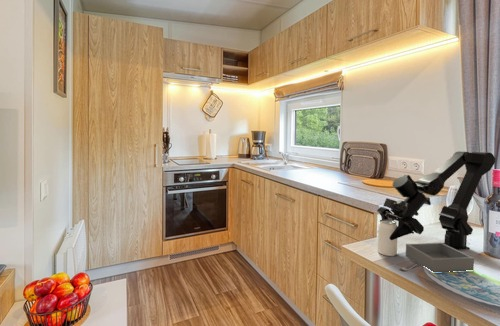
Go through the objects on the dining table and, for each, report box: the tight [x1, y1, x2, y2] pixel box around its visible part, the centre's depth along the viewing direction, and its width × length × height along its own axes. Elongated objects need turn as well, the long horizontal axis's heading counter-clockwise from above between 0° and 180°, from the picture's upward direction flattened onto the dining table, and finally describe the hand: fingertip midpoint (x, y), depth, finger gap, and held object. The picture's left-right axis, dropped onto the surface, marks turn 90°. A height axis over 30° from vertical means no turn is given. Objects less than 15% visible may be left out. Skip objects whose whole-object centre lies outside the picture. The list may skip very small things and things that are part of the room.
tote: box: [405, 242, 475, 272], centre depth 94 cm, size 14×14×4 cm
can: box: [377, 219, 398, 257], centre depth 103 cm, size 6×6×12 cm
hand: (384, 236), depth 103 cm, fingers closed on can, 6 cm apart
